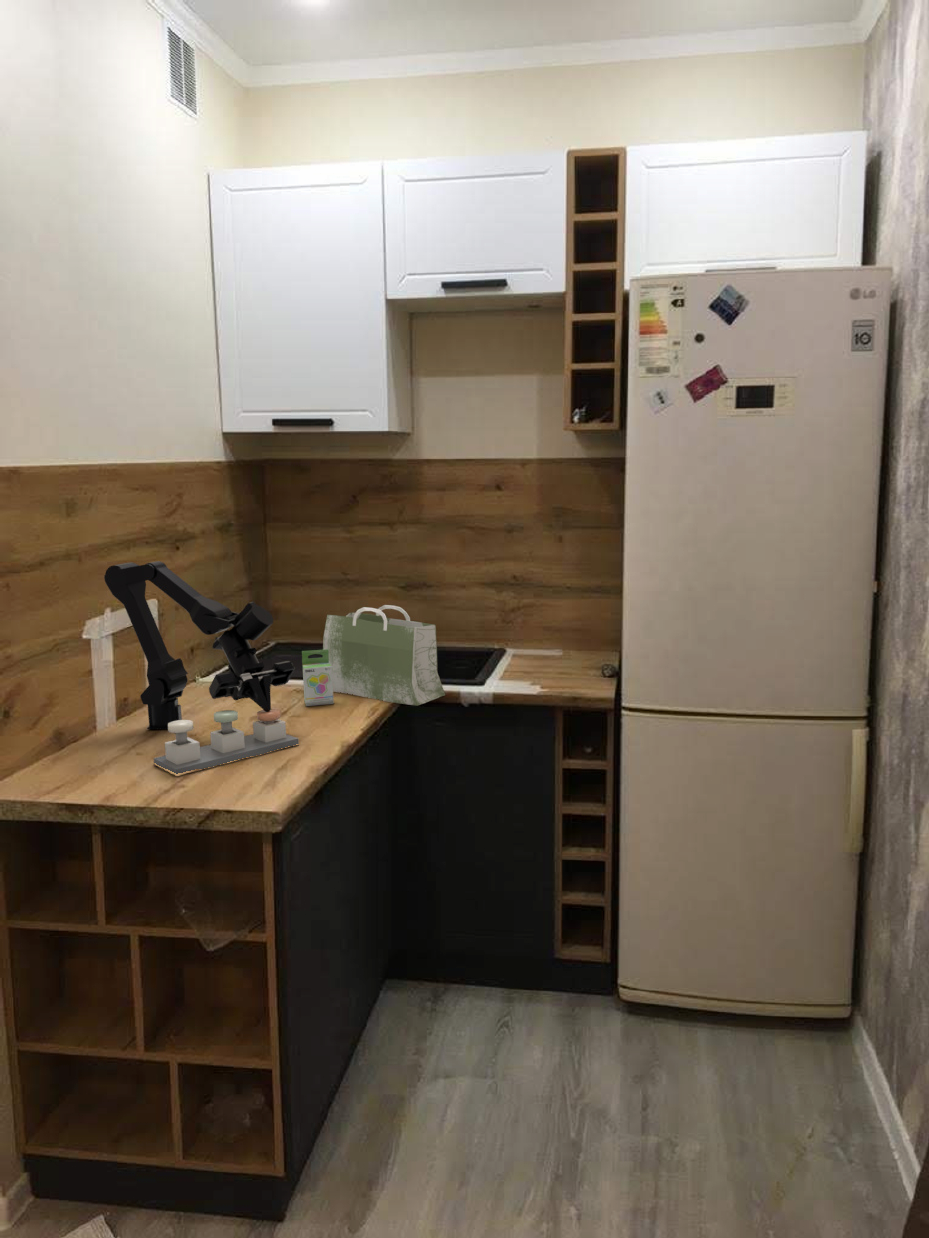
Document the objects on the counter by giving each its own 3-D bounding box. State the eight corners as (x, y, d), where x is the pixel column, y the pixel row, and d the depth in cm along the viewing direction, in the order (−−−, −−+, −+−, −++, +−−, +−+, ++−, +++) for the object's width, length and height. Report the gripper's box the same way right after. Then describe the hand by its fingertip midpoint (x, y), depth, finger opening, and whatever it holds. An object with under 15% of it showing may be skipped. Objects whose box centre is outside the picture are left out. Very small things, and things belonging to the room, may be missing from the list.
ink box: (305, 706, 233) (302, 654, 231) (304, 703, 237) (301, 651, 235) (333, 704, 235) (331, 651, 233) (331, 700, 239) (329, 648, 236)
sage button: (211, 734, 196) (209, 713, 195) (231, 729, 199) (230, 708, 198) (222, 739, 192) (220, 717, 192) (243, 734, 196) (241, 713, 195)
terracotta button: (254, 732, 203) (252, 712, 202) (273, 728, 206) (272, 707, 205) (265, 737, 199) (264, 716, 198) (285, 732, 202) (284, 711, 202)
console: (154, 765, 191) (152, 741, 190) (274, 735, 209) (272, 713, 209) (176, 776, 184) (174, 752, 183) (298, 745, 202) (297, 722, 201)
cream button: (165, 745, 189) (163, 723, 188) (187, 740, 192) (186, 718, 192) (176, 750, 186) (174, 727, 185) (198, 745, 189) (196, 722, 188)
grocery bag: (448, 694, 243) (446, 605, 239) (416, 706, 231) (413, 613, 227) (353, 680, 260) (350, 597, 256) (319, 691, 249) (315, 604, 245)
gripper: (264, 667, 219) (293, 722, 213) (190, 681, 207) (218, 740, 201) (280, 638, 212) (310, 694, 206) (204, 651, 200) (233, 711, 194)
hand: (268, 710), depth 202 cm, fingers closed, pressing on terracotta button
